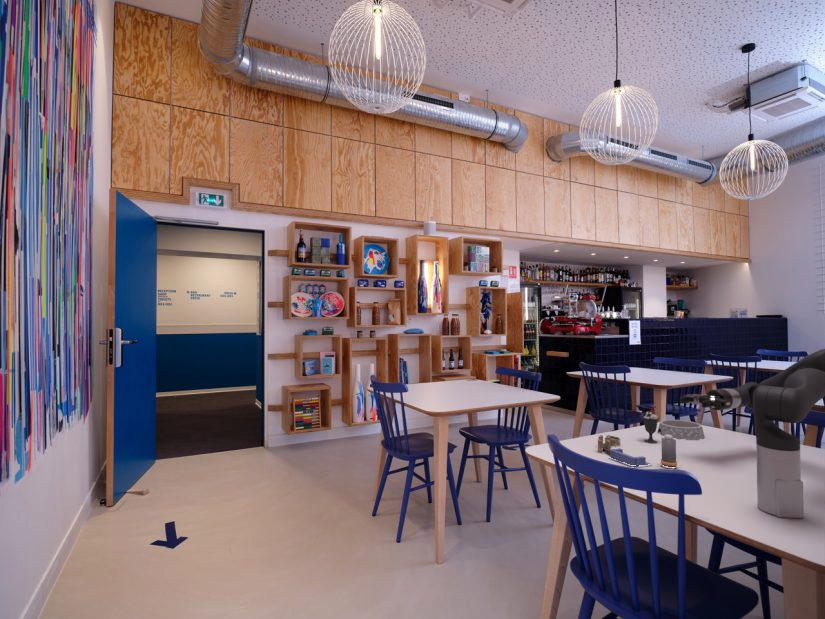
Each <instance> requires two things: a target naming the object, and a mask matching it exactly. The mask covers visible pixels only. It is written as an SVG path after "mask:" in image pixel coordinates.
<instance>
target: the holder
mask: <svg viewBox="0 0 825 619" xmlns="http://www.w3.org/2000/svg"><path fill="white" fill-rule="evenodd" d="M609 457H611V458H613V459H616V460H618V461H621V462H625V463H627V464H630V465H636V466H633V467H638V466H639V465H648V464H651V463H650V462H647V460H646V458H647V457H646V456H644V455H643V456H632V455H629V454H626V453H624V449H623V448H620V447H619V448H612V449H611V448H610V454H609ZM613 459H612V460H613ZM618 461H617V462H618ZM633 467H632V468H633Z"/></svg>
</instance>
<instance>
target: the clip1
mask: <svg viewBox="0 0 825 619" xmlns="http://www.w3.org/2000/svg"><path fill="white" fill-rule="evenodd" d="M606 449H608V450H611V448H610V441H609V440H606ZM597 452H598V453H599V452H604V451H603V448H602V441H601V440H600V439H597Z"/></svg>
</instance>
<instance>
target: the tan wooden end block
mask: <svg viewBox="0 0 825 619" xmlns="http://www.w3.org/2000/svg"><path fill="white" fill-rule="evenodd" d="M608 436H609V437H611V444H612V445H611V447H613V446H615V447H614V448H617V447H619V445H620V446H621V437H619V436H614V435H609V434H608V435H606V436H605V437H604V443H606V438H607V437H608ZM616 446H617V447H616Z"/></svg>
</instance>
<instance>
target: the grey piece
mask: <svg viewBox="0 0 825 619" xmlns="http://www.w3.org/2000/svg"><path fill="white" fill-rule="evenodd" d="M676 440H677V439H674V438H673V436H672V435H669V434H665V436H664V437H662V438H661V459H660V464H661V466H662V465H664V466H668V467H676V468H677V466H678V461H677V441H676Z"/></svg>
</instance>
